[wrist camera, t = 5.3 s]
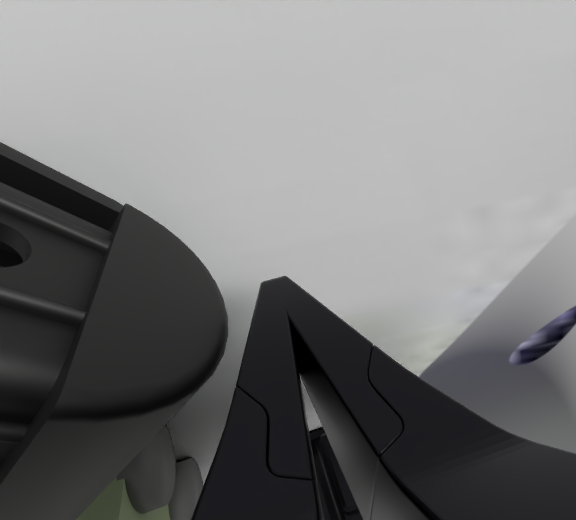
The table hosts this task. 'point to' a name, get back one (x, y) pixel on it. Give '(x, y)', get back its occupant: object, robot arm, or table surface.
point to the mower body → (150, 486)
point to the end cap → (90, 337)
